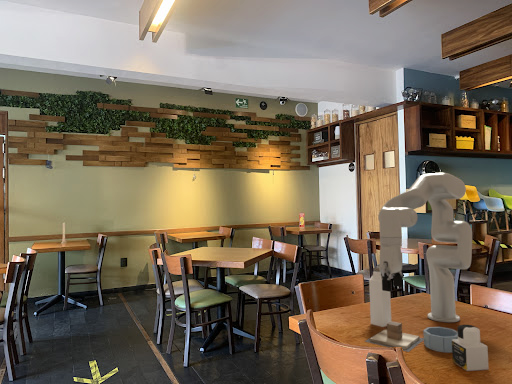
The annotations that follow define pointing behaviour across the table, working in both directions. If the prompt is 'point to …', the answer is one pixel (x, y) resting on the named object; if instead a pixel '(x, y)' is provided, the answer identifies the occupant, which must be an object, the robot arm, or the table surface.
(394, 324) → the lid
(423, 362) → the table surface
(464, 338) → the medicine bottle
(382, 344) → the mat
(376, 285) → the milk
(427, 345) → the bowl
